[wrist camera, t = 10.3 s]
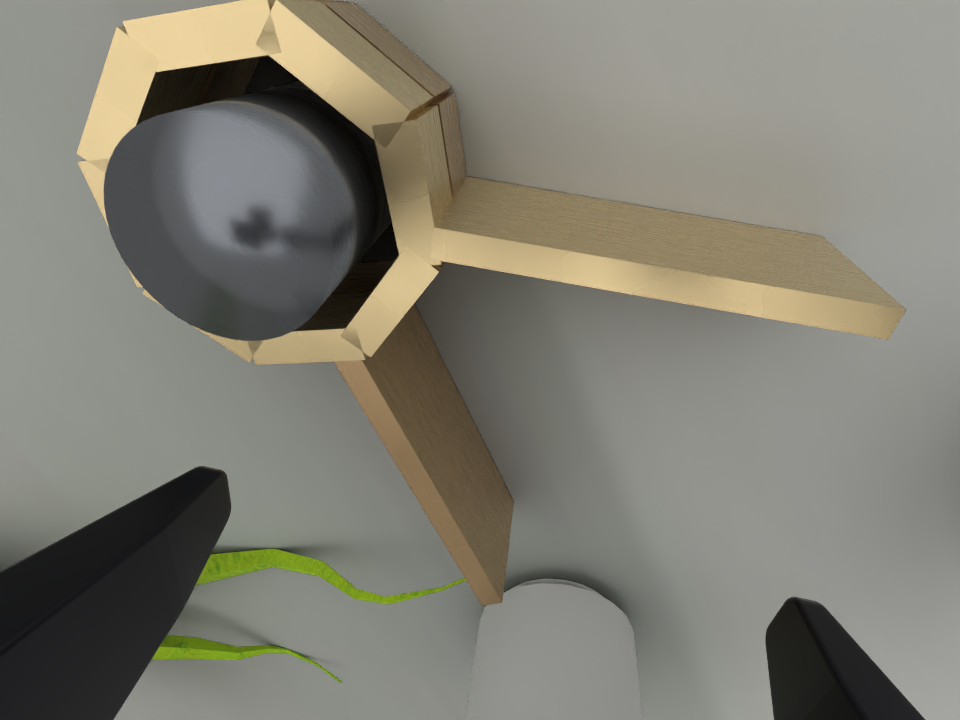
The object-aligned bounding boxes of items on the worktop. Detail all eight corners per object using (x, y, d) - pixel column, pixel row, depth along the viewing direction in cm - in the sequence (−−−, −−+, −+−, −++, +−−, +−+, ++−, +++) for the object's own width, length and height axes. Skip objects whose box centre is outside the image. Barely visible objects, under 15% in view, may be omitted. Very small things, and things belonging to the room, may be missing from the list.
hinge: (830, 244, 17) (917, 320, 13) (503, 509, 25) (490, 610, 21) (341, -228, 13) (233, -344, 9) (132, 264, 21) (21, 328, 17)
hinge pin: (441, 152, 17) (375, 224, 11) (359, 268, 20) (271, 377, 14) (301, 37, 16) (147, 51, 10) (233, 175, 19) (76, 251, 13)
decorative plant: (433, 718, 36) (363, 1095, 23) (-21, 605, 36) (-334, 923, 23) (495, 534, 26) (432, 1011, 14) (-128, 379, 26) (-763, 715, 14)
